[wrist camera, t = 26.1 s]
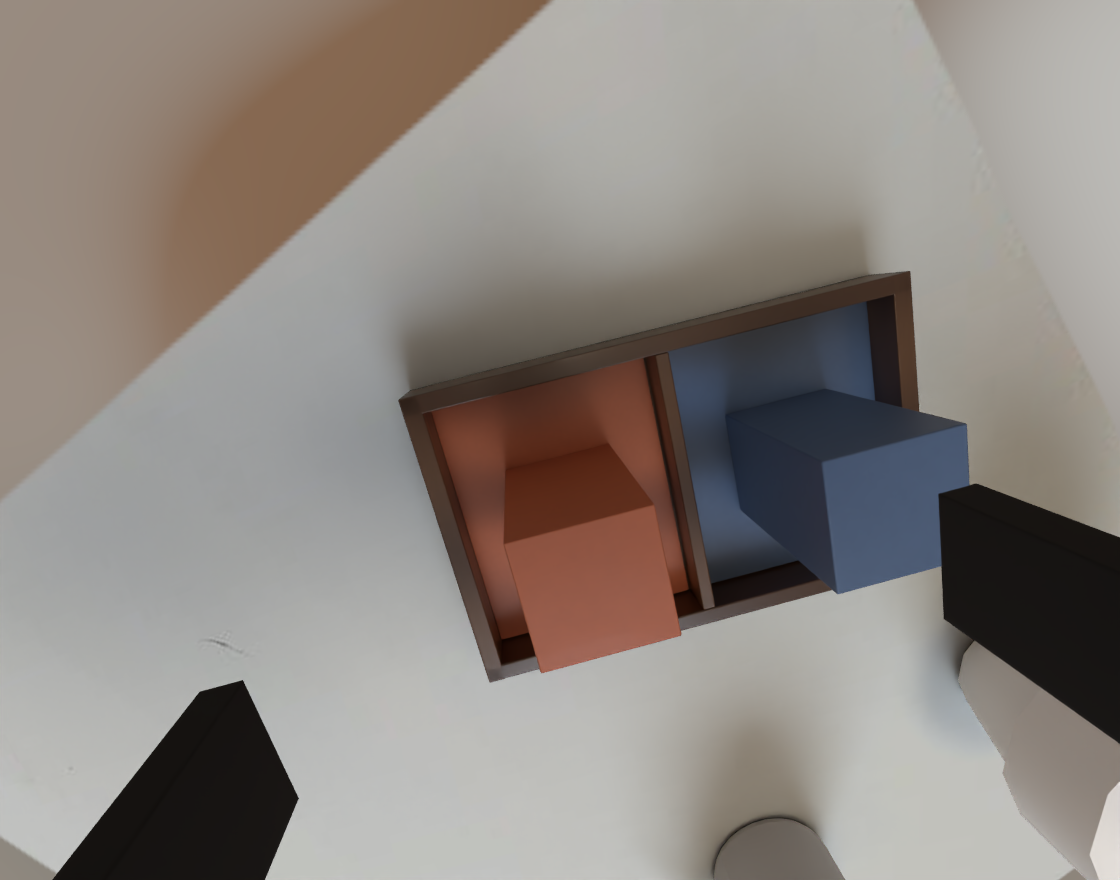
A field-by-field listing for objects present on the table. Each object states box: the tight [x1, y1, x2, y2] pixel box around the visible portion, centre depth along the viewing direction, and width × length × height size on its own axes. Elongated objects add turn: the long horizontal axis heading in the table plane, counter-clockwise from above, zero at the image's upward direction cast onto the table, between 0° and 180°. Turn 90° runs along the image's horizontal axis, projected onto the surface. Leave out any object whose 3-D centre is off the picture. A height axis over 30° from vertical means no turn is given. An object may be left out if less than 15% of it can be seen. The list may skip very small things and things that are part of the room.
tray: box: [398, 271, 919, 682], centre depth 25 cm, size 14×22×3 cm, turn 104°
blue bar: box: [725, 389, 969, 594], centre depth 22 cm, size 5×5×8 cm
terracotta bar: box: [503, 444, 681, 673], centre depth 21 cm, size 5×5×8 cm
